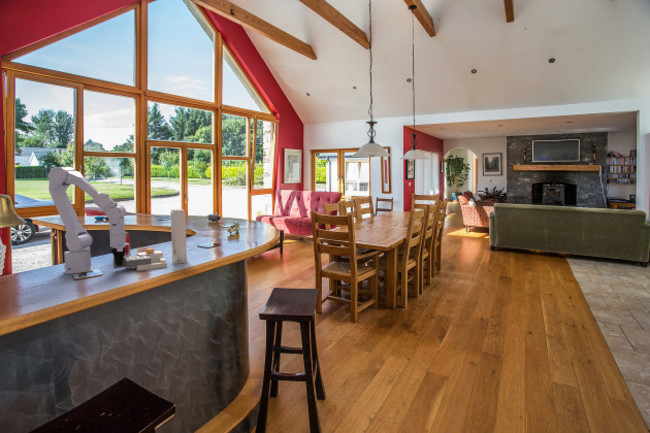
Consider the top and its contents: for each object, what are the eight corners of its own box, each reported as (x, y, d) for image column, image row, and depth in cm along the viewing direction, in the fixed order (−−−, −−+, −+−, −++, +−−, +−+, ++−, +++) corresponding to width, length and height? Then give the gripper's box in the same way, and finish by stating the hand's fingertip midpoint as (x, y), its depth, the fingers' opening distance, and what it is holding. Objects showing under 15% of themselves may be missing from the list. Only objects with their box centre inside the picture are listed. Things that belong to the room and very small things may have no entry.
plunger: (146, 260, 174) (146, 250, 174) (145, 259, 177) (145, 248, 176) (155, 260, 176) (154, 249, 175) (153, 258, 179) (153, 248, 178)
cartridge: (114, 269, 160) (114, 259, 160) (113, 266, 166) (112, 256, 165) (151, 265, 168) (150, 255, 168) (148, 262, 173) (148, 253, 173)
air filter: (182, 264, 176) (180, 210, 173) (169, 263, 177) (167, 209, 174) (189, 260, 182) (188, 209, 179) (177, 260, 184) (175, 208, 181)
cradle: (137, 270, 164) (136, 259, 163) (132, 264, 175) (132, 253, 174) (167, 267, 170) (166, 256, 170) (160, 260, 182) (160, 250, 181)
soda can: (118, 261, 179) (116, 234, 178) (111, 259, 183) (109, 232, 182) (133, 259, 185) (132, 232, 183) (126, 256, 189) (124, 231, 188)
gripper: (130, 235, 159) (131, 267, 160) (125, 230, 170) (127, 260, 172) (110, 237, 155) (112, 269, 156) (107, 232, 167) (109, 262, 168)
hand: (119, 265), depth 164 cm, fingers closed on cartridge, 2 cm apart
